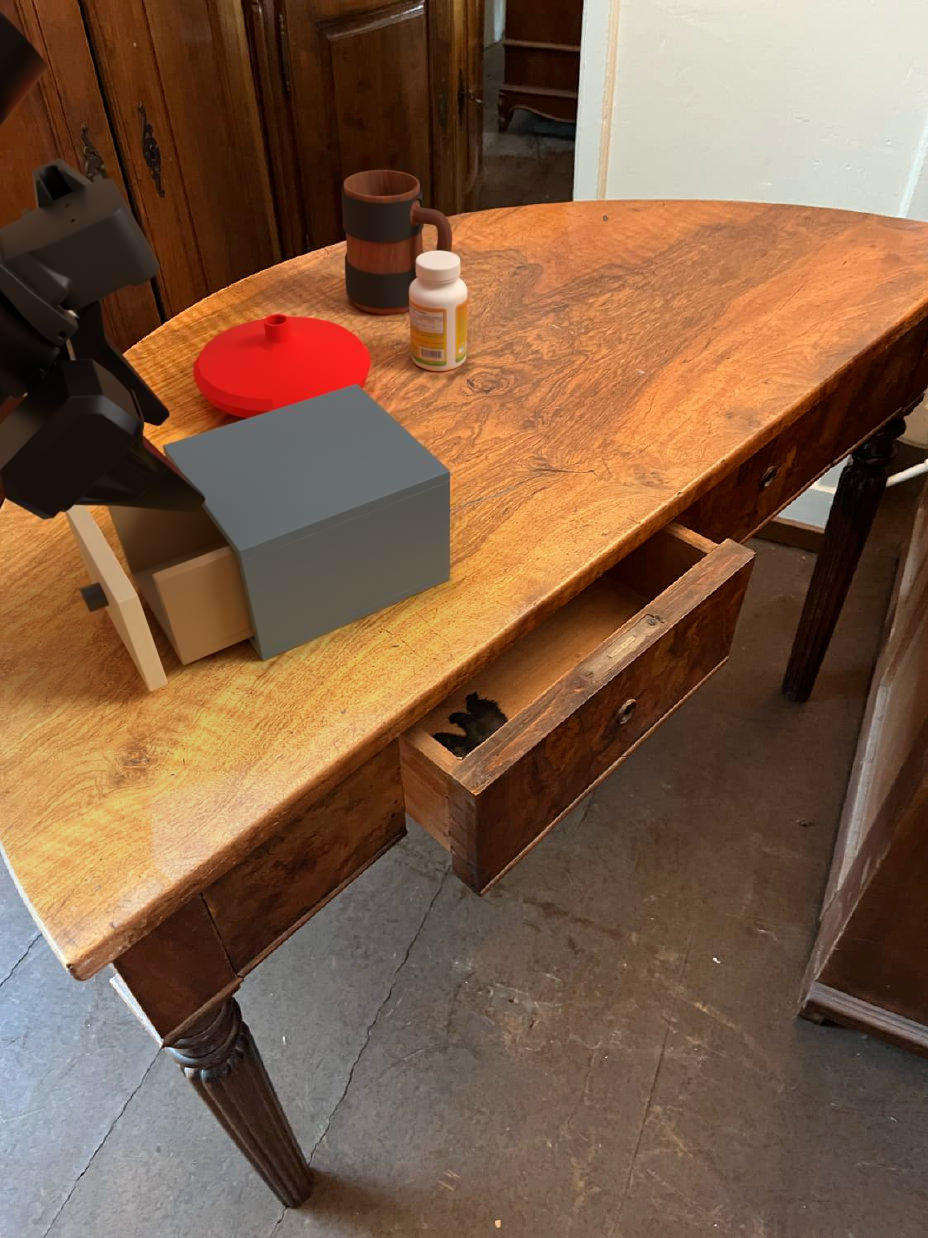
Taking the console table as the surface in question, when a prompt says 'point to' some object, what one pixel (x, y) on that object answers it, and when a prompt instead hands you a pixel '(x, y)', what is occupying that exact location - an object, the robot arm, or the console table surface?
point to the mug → (385, 238)
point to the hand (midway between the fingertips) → (181, 459)
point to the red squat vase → (278, 364)
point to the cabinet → (322, 512)
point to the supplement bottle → (438, 312)
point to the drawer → (164, 583)
